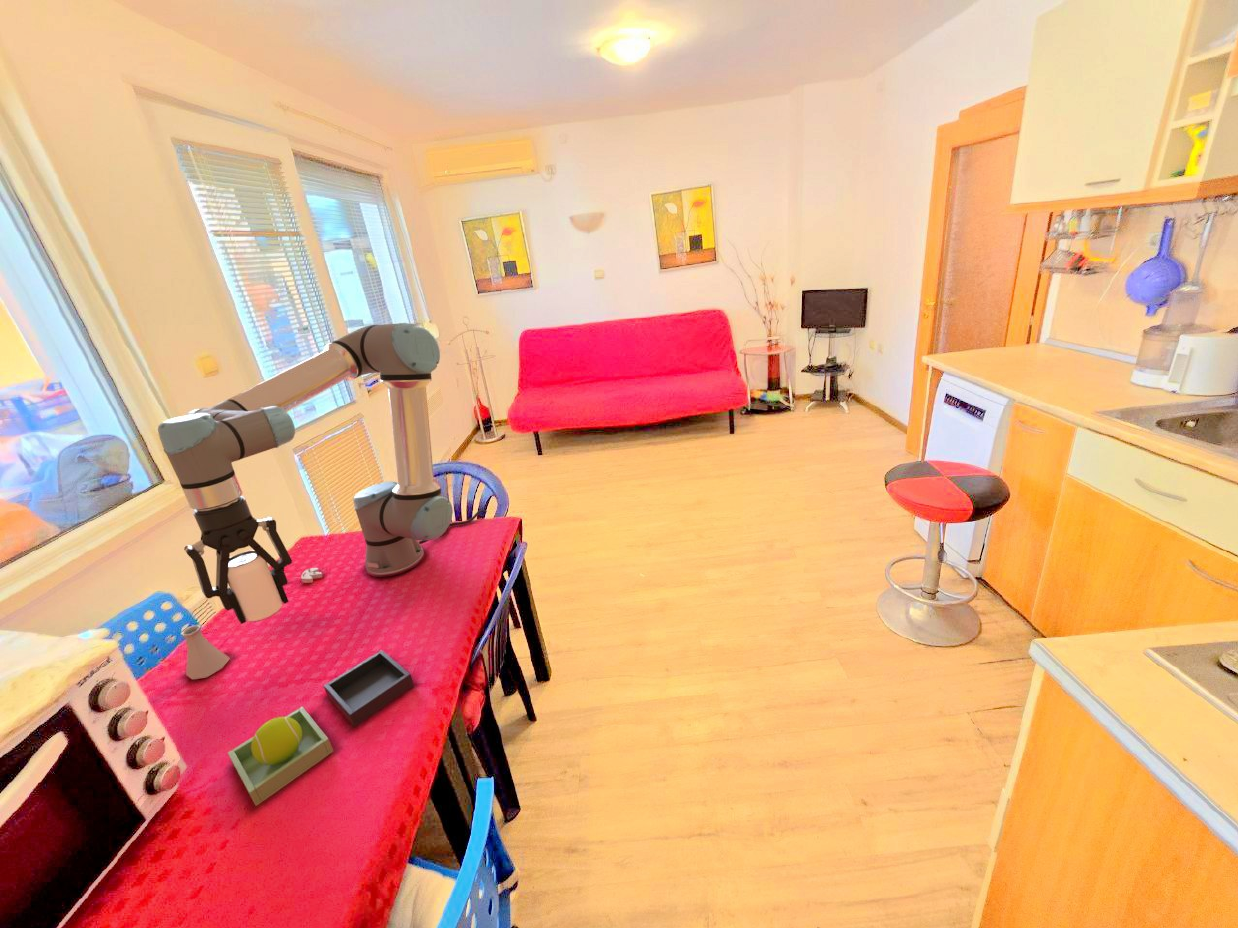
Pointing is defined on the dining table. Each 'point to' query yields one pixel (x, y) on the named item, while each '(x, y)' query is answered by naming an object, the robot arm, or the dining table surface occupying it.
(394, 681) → the charcoal tray
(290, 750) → the tennis ball
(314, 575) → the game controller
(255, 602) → the can
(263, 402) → the robot arm
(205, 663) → the flask
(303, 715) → the green tray
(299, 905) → the dining table surface
